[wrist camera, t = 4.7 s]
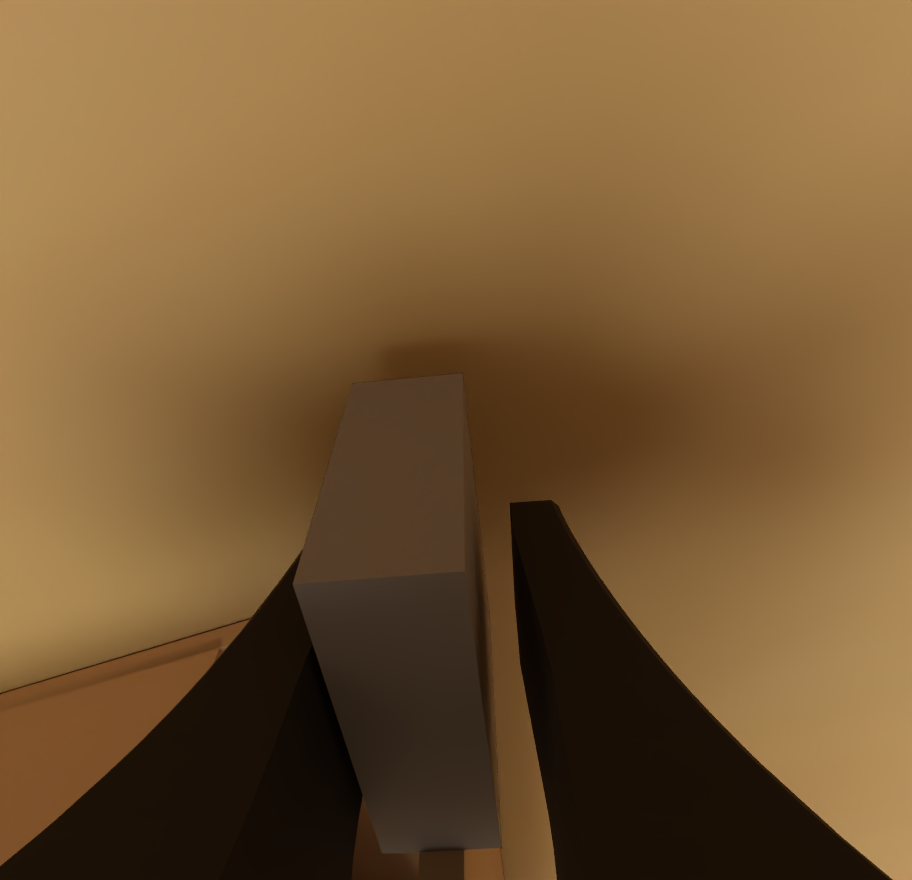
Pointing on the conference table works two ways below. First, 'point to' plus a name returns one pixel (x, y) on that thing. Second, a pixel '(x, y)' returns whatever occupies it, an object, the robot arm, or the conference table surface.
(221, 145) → the conference table surface
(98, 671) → the carton
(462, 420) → the grey-topped wooden pole
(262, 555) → the conference table surface
